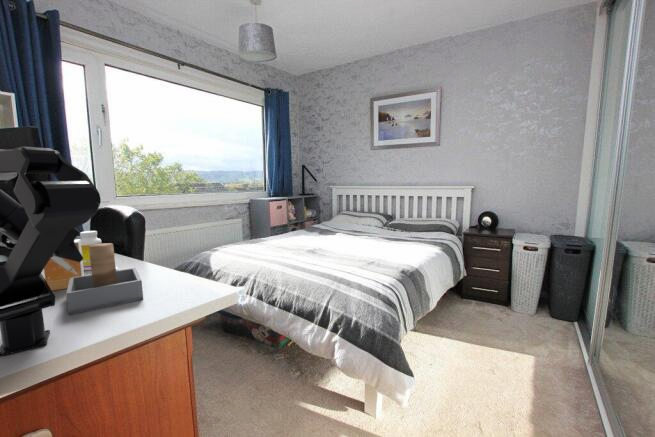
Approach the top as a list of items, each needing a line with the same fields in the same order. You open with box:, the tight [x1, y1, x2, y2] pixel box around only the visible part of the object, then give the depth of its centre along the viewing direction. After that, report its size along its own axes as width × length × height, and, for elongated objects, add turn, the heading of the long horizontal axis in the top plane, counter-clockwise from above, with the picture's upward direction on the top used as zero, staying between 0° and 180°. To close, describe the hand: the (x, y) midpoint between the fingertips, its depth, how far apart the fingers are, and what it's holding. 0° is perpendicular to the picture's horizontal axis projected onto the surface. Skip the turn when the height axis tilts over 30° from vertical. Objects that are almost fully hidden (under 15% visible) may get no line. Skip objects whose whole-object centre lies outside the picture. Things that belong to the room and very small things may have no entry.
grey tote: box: [65, 267, 144, 315], centre depth 81 cm, size 15×15×5 cm
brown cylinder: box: [89, 242, 117, 288], centre depth 80 cm, size 5×5×13 cm
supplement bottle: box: [79, 230, 103, 271], centre depth 109 cm, size 7×7×13 cm
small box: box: [43, 238, 85, 291], centre depth 90 cm, size 8×6×13 cm
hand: (67, 257), depth 71 cm, fingers open, 9 cm apart
